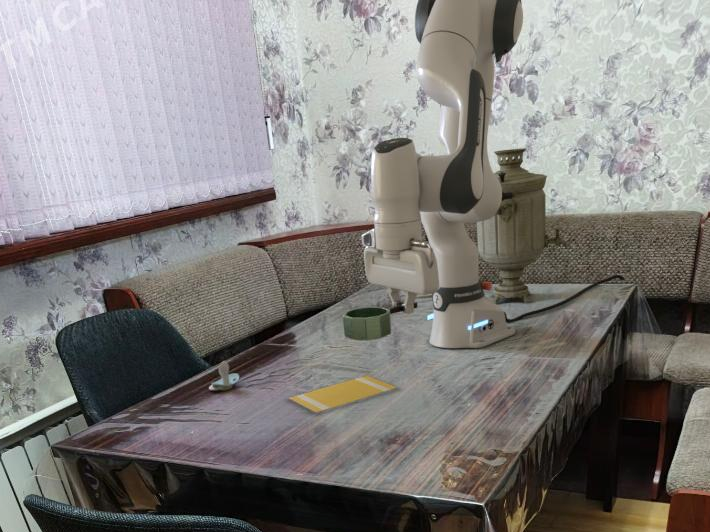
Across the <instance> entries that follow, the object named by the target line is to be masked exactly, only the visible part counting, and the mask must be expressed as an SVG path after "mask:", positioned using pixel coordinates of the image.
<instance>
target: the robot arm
mask: <svg viewBox="0 0 710 532" xmlns="http://www.w3.org/2000/svg"><path fill="white" fill-rule="evenodd" d="M523 23H524V9H523V4H522V0H417V4H416V8H415V12H414V28H415V30H414V31H415V37H416V40H417V42H418V43H419V49H418V53H417V54H418V55H417V57H416V58H417V59H416V66H415V67H416V70H415V71H416V77H417V80H418V84H419V85H420V87H421V89H422V90H423V92H424V93H425V95H426V96H428V97H429V98H430V99H431V100H433V101H434V102H435V103H437V104H439V105H440V108H439V109H440V110H439V118H438V124H437V125H438V126H437V137H438V138H437V139H438V140H439V142H440V143H441V145H442V146H443V147H444V148H445V150H446V154H442V155H441V154H440V155H439V154H438V155H422V154H420V153H418V152H416V145H415V143H414V140H413V139H411V138H407V137H395V138H391V139H385V140H383V141H380V142H379V143H377V144H376V145H375V146H374V147H373V149H372V153H371V162H370V183H371V184H370V185H371V186H370V187H371V197H372V201H373V204H374V210H375V211H374V218H373V225H374V228H371V229H370V230H368V231H366V232H364V233H363V234H362V235H361V245H362V246H363V247H365V248H364V249H363V261H364V270H365V275H366V279H367V281H368V283H369V284H373V285H377V286H381V287H382V286H383V287H386V288H387V294H388V296H389V298H390V301H391V306H393V305H397V304H402V303H404V304H402V308H403V309H402V311H401V312H402V313H404V314H407V315H410V314H413V313H414V312H415V308H414V302H416V299H417V296H418V295H422V296H426V295H431V300H432V307H433V313H431V314H429V315H427V321H429V320H431V319H432V324H431V331H430V336H429V340H428V342H429V344H430V345H431V346H434V347H437V348H443V349H465V348H466V349H467V348H468V349H469V348H470V349H480V348H484V347H487V346H489V345H491V344H494V343H497V342H498V341H502V340H504V339H506V338H509V337H511V336H513V335H516V330H515V328H514V327H511V326H510V325H507V323H513V322H517V321H519V320H522V319H524V318H527V317H530V316H533V315H537V314H541V313H544V312H547V311H551V310H553V309H555V308H559V307H560V306H564V305H565V304H567V303H569V302H571V301H573V300H574V299H576V298H578V297H579V296H581V295H582V294H584V293H586V292H587V291H589V290H592V288H594V287H597V286H598V285H601V284H605V283H607V282H609V281H611V280H612V281H613V280H614V279H620V280H621V281H625V280H626V279H625V278H624V276H622V275H621V274H614V275H611V276H609V277H606V278H604V279H601V280H598V281H596V282H594V283H592V284H590V285H587V286H586V287H585V288H582V289H581V290H580V291H578V292H576V293H575V294H573V295H571V296H569V297H568V298H566V299H564V300H561V301H560V302H557V303H555V304H552V305H549V306H546V307H543V308H539V309H535V310H532V311H528V312H525V313H522V314H520V315H518V316H517V317H515V318H511V319H510V318H508V315H507V313H506V312H505V311H504V310H503V308H502V307H500V306H499V305H497V304H495V303H494V302H492V300H491V299H490V298H488V297H487V296H485V295H486V293H485V292H484V291H488V292H489V291H491V290H492V289H493V283H492V282H491V281H487V280H484V281H483V282H482V281H480V280H479V279H480V278H479V275H480V273H479V270H480V269H479V268H480V267H479V251H478V245H477V244H476V243H475V241H473V240H472V238H471V237H470V236H469V234H468V231H467V229H466V227H465V224H477V222H481V221H484V220H488V219H490V218H492V217H493V216H494V215H495V214H496V213H497V211H498V209H499V207H500V204H501V200H502V189H501V185H500V182H499V180H498V179H497V177H496V176H495V175H494V173H495V172H494V171H493V169H492V166H491V163H490V158H489V152H488V151H489V150H488V135H489V134H488V133H489V126H490V117H491V111H492V110H491V109H492V103H493V96H494V95H493V94H494V84H495V63H499V62H501V60H502V58H503V57H504V56H505V55H507V54H509V53H510V52H511V51H512V50H513V49H514V47H515V46H516V45H517V43H518V39H519V37H520V34H521V32H522V29H523ZM422 227H423V228H422ZM422 229H424V231H425V234H426V237H427V240H428V241H427V240H423V232H422V231H423V230H422ZM401 291H403V296H404V297H405V299H404V300H402V298H401V294H400V292H401Z"/></svg>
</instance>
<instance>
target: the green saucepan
mask: <svg viewBox="0 0 710 532" xmlns="http://www.w3.org/2000/svg"><path fill="white" fill-rule="evenodd" d="M404 303H405V302H404ZM404 303H402V304H404ZM402 304H397V305H393V306H392V305H389V306H364V307H356V308H352V309H349V310H346V311H344V312H343V314H342V321H343V332H344V337H345V338H348V339H350V340H354V341H375V340H378V339H382V338H385V337H387V336H389V335H391V334H392V320H391V319H392V317H391V315H393V314H396V313H401V312H403V311H402V309H403V308H402ZM417 308H418V302H416V301H415V302H414V309H417Z"/></svg>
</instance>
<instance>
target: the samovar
mask: <svg viewBox="0 0 710 532" xmlns="http://www.w3.org/2000/svg"><path fill="white" fill-rule="evenodd" d="M525 151H527V148H525V147H524V148H511V149H510V148H509V149H502V150H497V151H493V153H494V154H495V155H496V157H497V165H498V166H499V170H497V171H496V172H493V173H494V175H495V176H496V177H497V179H498V180H499V182H500V185H501V189H502V200H501V204H500V207H499V209H498V211H497V213H496V214H495V215H494V216H493V217H492V218H490V219H488V220H484V221H481V222H476V235H477V248H478V255H479V257H480V258H481V259H482V260H483V261H484V262H485V263H487V264H488V265H489V266H490V267H492V268H495V269H497V270H499V274H498V276H499V278H501V279H502V282H501V283H498V284H497V286H495V287H494V288H493V291H492V297H493V299H492V300H491V301H492V302H494V303H495V304H496V305H497V304H498V302H499V301H500V300H502V299H503V298H505V299H511V298H512V299H515V298H519V299H521V300H522V301H524V304H530V303H531V300H530V299H529V298H528V296H529V295H531V292H530V291H529V290H530V289H529V286H528V285H526V284H525V282H523V281H520V278H521V277H522V276H524V268H525V267H528V266H530V265H531V264H533V263H534V262H536V260H538V258H539V257H540V256H541V255H542V254H543V252H544V251H545V248H546V249H547V248H548V247H549V244H555V246H556V247H559V246H561V245H562V246H563V248H566V247H569V244H568V242H567V241H566V240H565V239H564V238H562V237H561V236H560V232H559V231H560V230H563V229H564V225H562V224H559V223H557V224H552V225H551V227H550V229H553V230H554V231H555V237H554V238H549V235H548V234H546V231H547V230H546V226H547V225H546V224H547V223H546V220H547V219H546V211H547V210H546V209H547V207H546V201H547V200H546V199H547V197H546V196H547V195H546V193H545V191H544V188H545V185H546V183H547V178H548V176H547V175H545V174H543V173H534V172H530V171H529V170H528V169H525V168H523V167H522V166H521V165H522V164H523V162H524V159H523V158H524V153H525Z"/></svg>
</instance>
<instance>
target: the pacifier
mask: <svg viewBox="0 0 710 532" xmlns="http://www.w3.org/2000/svg"><path fill="white" fill-rule="evenodd" d="M229 371H230V365H229V363H228V362H227V361H226V360H223V361H221V362H220V364H219V366H218V374H219V376H220V379H218V380H216V381H213V382H211V383H210V384H211V385H209V387H208V390H209V391H213V392H217V391H228V390H230V389H232V388H233V386H234V385H236V384H238V382H239V381H240V375H239V374H238V373H235V372H232V373H230V374H229Z"/></svg>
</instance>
